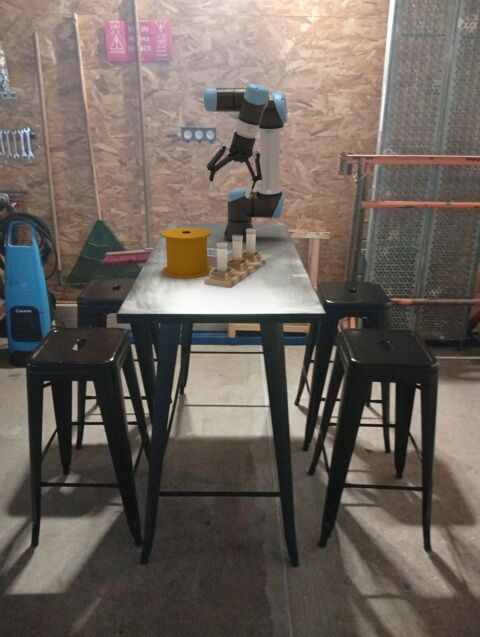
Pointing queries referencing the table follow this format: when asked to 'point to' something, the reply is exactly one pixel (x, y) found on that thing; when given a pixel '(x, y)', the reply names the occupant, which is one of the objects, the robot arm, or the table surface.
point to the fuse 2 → (250, 241)
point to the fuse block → (236, 271)
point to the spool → (186, 252)
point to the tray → (215, 257)
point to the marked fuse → (237, 249)
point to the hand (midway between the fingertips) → (228, 193)
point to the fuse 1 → (222, 257)
